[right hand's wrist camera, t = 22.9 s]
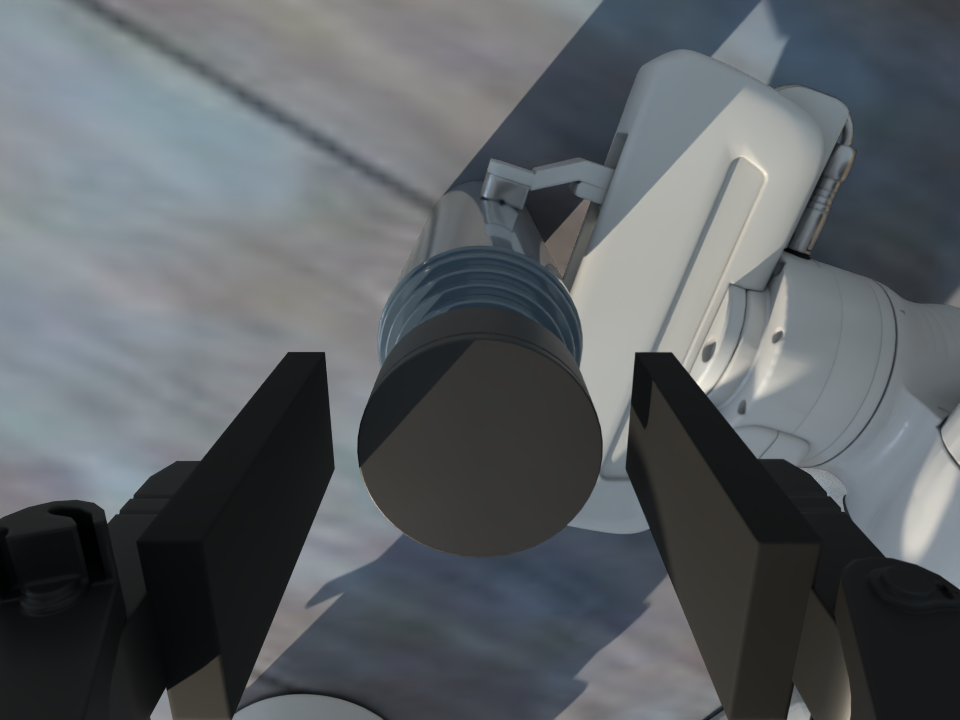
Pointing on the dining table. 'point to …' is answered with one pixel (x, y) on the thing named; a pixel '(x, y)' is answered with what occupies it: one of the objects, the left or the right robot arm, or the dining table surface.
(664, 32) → the dining table surface
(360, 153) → the dining table surface
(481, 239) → the bottle
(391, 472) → the cap
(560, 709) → the dining table surface
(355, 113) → the dining table surface
